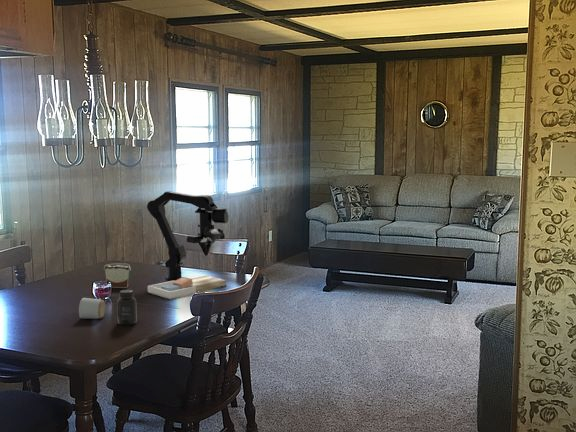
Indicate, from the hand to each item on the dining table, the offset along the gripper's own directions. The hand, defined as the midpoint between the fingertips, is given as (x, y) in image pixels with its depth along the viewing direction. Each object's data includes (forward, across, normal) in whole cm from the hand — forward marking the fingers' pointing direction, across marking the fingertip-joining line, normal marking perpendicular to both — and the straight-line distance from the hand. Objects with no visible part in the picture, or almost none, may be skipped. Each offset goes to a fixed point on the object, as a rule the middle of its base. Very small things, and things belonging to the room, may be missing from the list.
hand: (206, 255), depth 301 cm
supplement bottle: (+12, -63, -31) cm, 71 cm away
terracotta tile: (+10, -19, -7) cm, 23 cm away
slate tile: (+12, -25, -7) cm, 29 cm away
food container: (+12, -34, +20) cm, 41 cm away
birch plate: (+12, -9, -7) cm, 17 cm away
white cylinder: (+12, -68, -15) cm, 71 cm away
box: (+12, -25, -7) cm, 29 cm away
